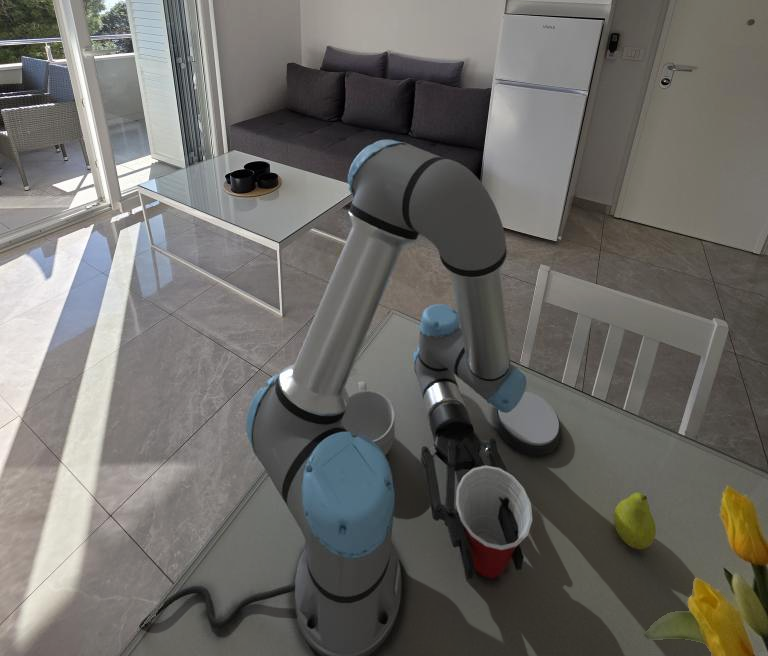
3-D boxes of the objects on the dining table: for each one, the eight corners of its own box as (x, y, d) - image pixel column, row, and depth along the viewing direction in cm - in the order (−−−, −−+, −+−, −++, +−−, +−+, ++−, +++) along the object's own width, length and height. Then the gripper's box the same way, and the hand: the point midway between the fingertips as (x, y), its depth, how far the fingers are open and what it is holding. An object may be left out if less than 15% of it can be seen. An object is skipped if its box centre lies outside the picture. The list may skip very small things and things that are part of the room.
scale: (506, 457, 80) (508, 446, 79) (487, 399, 92) (488, 389, 91) (570, 454, 81) (572, 444, 80) (543, 397, 93) (545, 387, 92)
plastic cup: (445, 513, 71) (451, 462, 67) (511, 516, 71) (520, 465, 67) (454, 600, 61) (462, 545, 57) (530, 603, 61) (543, 549, 57)
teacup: (393, 476, 76) (394, 443, 74) (332, 472, 77) (331, 439, 74) (394, 407, 89) (396, 377, 87) (343, 404, 90) (343, 374, 87)
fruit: (637, 516, 71) (653, 465, 68) (658, 560, 66) (677, 507, 62) (602, 516, 71) (617, 465, 68) (621, 559, 66) (638, 506, 62)
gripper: (494, 424, 83) (556, 573, 62) (396, 436, 81) (425, 596, 59) (498, 395, 81) (564, 539, 59) (398, 406, 78) (429, 561, 57)
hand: (495, 567), depth 59 cm, fingers closed on plastic cup, 6 cm apart
